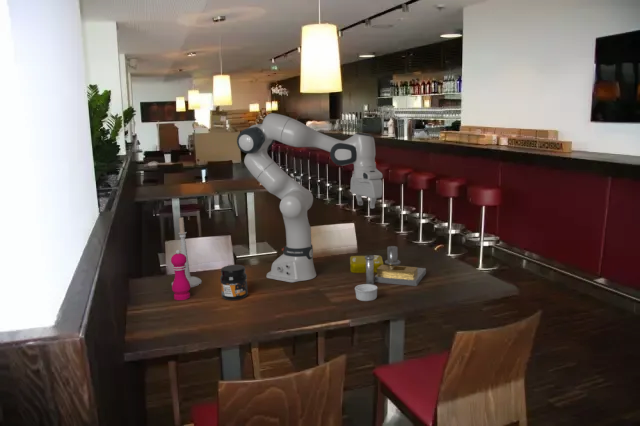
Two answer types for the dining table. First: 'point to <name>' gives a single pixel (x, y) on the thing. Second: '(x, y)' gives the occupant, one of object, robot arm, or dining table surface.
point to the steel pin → (369, 269)
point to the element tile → (363, 263)
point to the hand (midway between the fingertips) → (366, 206)
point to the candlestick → (192, 280)
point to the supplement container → (233, 282)
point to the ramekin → (366, 292)
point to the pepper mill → (180, 277)
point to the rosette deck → (398, 271)
